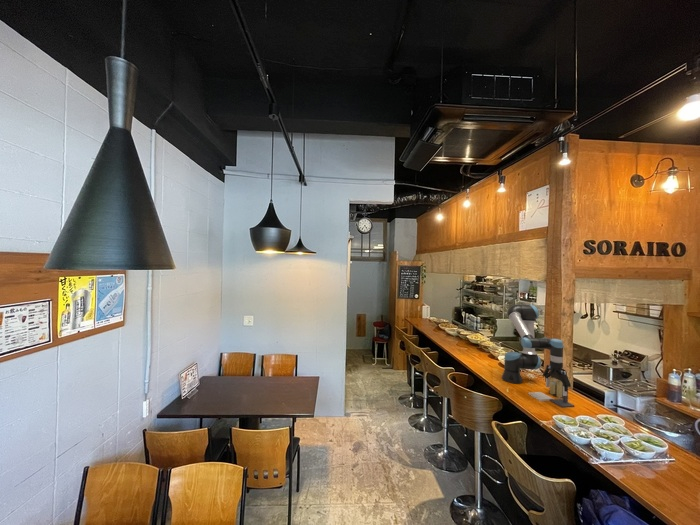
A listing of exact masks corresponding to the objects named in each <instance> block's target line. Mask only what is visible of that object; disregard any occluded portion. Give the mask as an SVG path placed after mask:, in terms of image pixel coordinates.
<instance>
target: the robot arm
mask: <svg viewBox="0 0 700 525" xmlns="http://www.w3.org/2000/svg"><path fill="white" fill-rule="evenodd" d="M506 314H507V318H508V319H509V320H510V321H511V322H512V324H513V325H514V327H515V329H516V331H517V333H518V334H519V336H520V338H521V339H520V344H521V346H522V351H521V352H517V351H507V352H505V354H504V357H503V358H504V368H503V369H504V370H503V372H502V376H501V379H502V380H503V381H504V382H507V383H510V384H515V385H516V384H519V385H520V384H522V383H523V377H522V374H521V369H522V370H531V371H533V370H536V371H537V370H539V369H540V368H541V366H542V364H541V363H542V360H541V357H540V356H539V355H538V353H537V352H536V349H540V350H543V349H544V350H549V359H550V361H549V364H547V365H546V366H545V369H544V371H543V374H542V376H543V377H544V378H545V379H544V381H545V388H550V378H551V375H552V374H555V375H558V377H559V378H560V380H561V381H562V383H563V385H564V386H563V396H567V391H568V392H569V388H571V387H572V385H571V383H570V380H569V379H570V378H569V377H568V374H567V371H566V370H565V371H562V369H564V363H563V362H564V342H563V340H562V339H560V338H559V339H558V338H549V337H541V338H540V337H535V323H536V322H537V320H538V318H539V316H540V314H539V310H538V308H537V307H536V306H535V305H534V304H513V305H511V306H509V307H508V309H507V311H506ZM550 369H551V371H550ZM560 374H561V375H560ZM565 384H566V385H565Z"/></svg>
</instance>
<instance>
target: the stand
mask: <svg viewBox="0 0 700 525" xmlns="http://www.w3.org/2000/svg"><path fill="white" fill-rule="evenodd" d="M551 383H552V385H557V383H555V382H551ZM562 384H563V383H562ZM565 385H566V384H565ZM563 386H564V385H563ZM549 402H551V403H552V404H554V405H557V406H558V407H560V408H562V409H563V408H574V407H575V404H573V403H571V402H569V390H568V391H567V396H563V398H553V399H550V401H549Z"/></svg>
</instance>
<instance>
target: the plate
mask: <svg viewBox="0 0 700 525" xmlns="http://www.w3.org/2000/svg"><path fill="white" fill-rule="evenodd" d="M528 394H529V395H528ZM527 395H528V396H530V395H531V397H532V398H534V399H535V398H536V400H537V399H538V400H537V401H538V402H546V401H547V402H551V401H550V399H554V398H553V397H551V396H549V395H547V394H546V393H543V392H542V391H535V392H528V393H527Z"/></svg>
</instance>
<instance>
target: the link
mask: <svg viewBox="0 0 700 525" xmlns="http://www.w3.org/2000/svg"><path fill="white" fill-rule="evenodd" d="M549 378H550V387H549V388H550V389H549V390H550V393H551V394H555V385H552V383H551V382H555V383H557V399H560V397H562V381H560V380H558V379H556V378H551V377H549ZM550 393H549V394H550ZM551 394H550V395H551Z"/></svg>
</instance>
